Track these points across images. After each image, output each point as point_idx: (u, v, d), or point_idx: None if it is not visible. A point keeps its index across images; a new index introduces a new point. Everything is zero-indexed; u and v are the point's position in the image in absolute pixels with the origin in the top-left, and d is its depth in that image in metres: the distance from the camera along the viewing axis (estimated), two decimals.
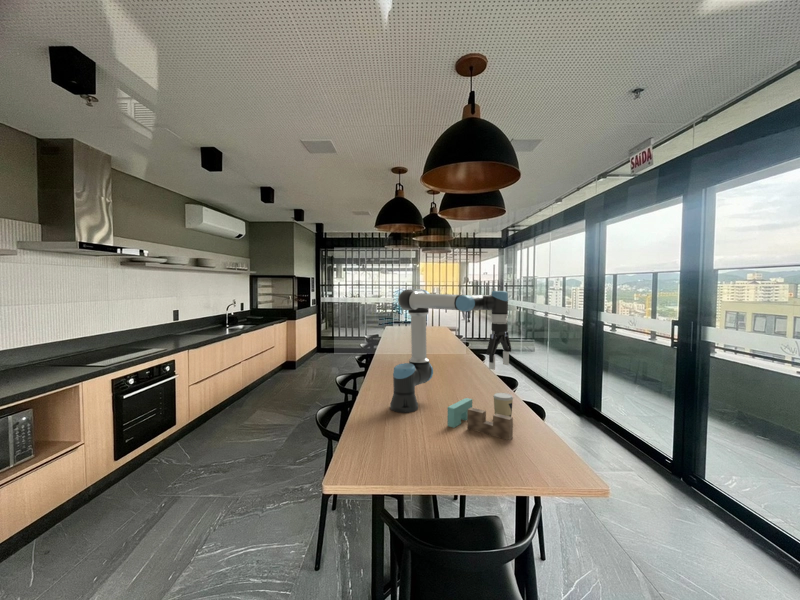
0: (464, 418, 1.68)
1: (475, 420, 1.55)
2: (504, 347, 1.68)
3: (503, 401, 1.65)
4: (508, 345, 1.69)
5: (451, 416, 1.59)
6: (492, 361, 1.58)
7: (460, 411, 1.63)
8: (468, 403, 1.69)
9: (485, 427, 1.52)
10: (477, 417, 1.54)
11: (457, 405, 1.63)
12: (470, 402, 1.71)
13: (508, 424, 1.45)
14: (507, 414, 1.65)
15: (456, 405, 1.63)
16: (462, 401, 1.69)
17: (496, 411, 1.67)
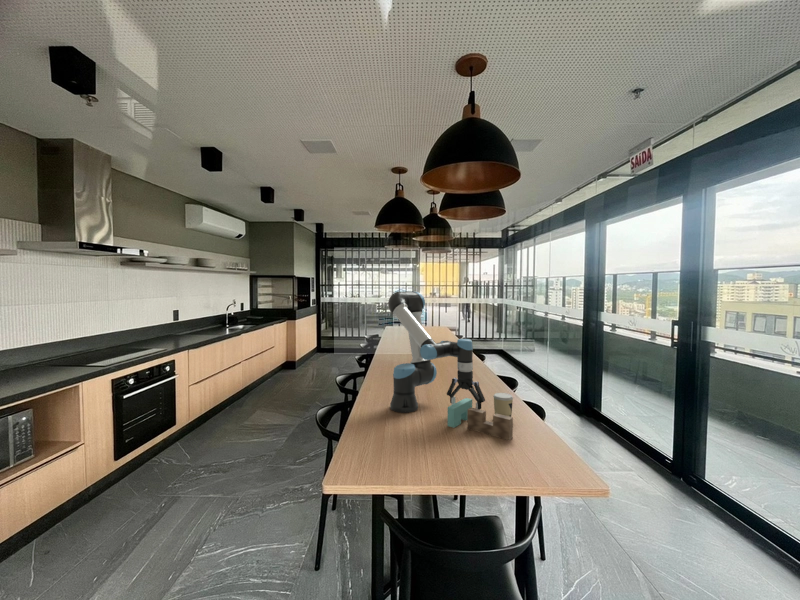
0: (464, 418, 1.68)
1: (475, 420, 1.55)
2: None
3: (503, 401, 1.65)
4: (479, 396, 1.64)
5: (451, 416, 1.59)
6: None
7: (460, 411, 1.63)
8: (468, 403, 1.69)
9: (485, 427, 1.52)
10: (477, 417, 1.54)
11: (457, 405, 1.63)
12: (470, 402, 1.71)
13: (508, 424, 1.45)
14: (507, 414, 1.65)
15: (456, 405, 1.63)
16: (462, 401, 1.69)
17: (496, 411, 1.67)
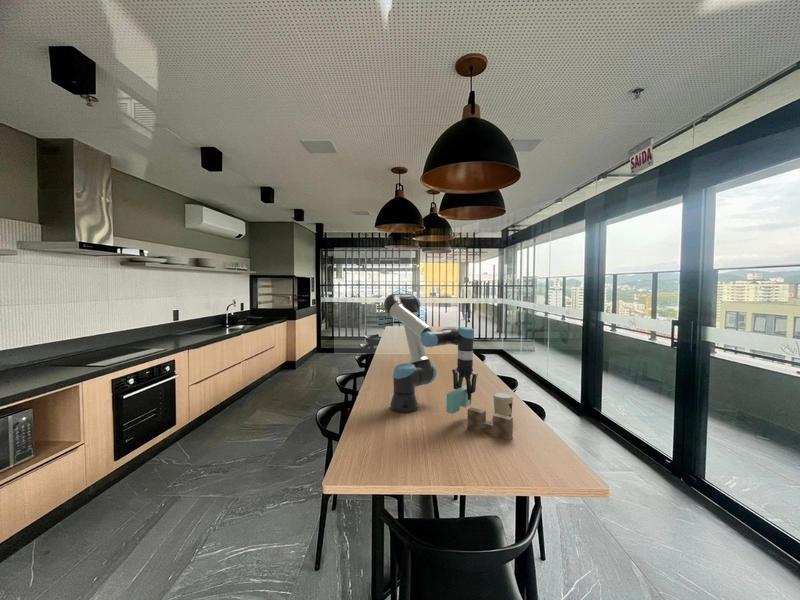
0: (463, 405, 1.68)
1: (475, 420, 1.55)
2: None
3: (503, 401, 1.65)
4: None
5: (450, 402, 1.59)
6: None
7: (460, 398, 1.64)
8: None
9: (485, 427, 1.52)
10: (477, 417, 1.54)
11: (456, 392, 1.63)
12: None
13: (508, 424, 1.45)
14: (507, 414, 1.65)
15: (456, 392, 1.63)
16: (461, 388, 1.69)
17: (496, 411, 1.67)
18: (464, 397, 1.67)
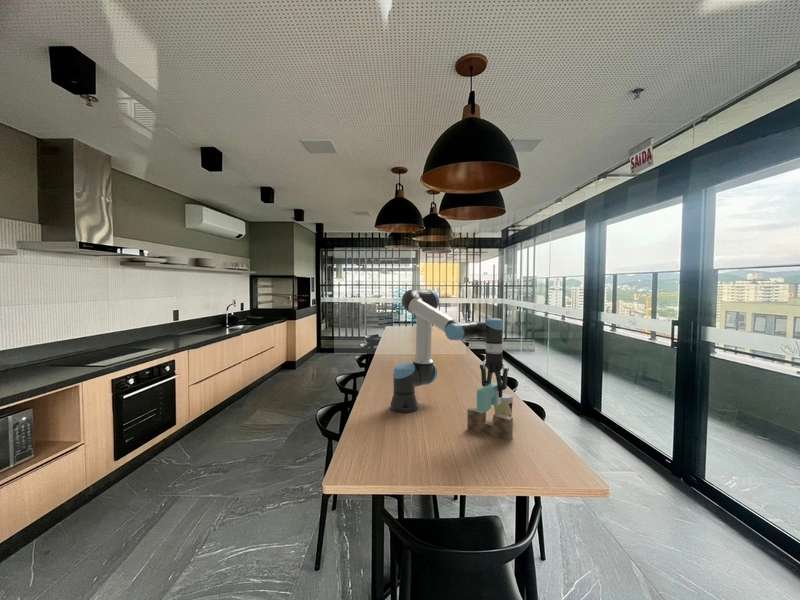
0: (494, 403, 1.53)
1: (475, 420, 1.55)
2: None
3: (503, 401, 1.65)
4: None
5: (481, 400, 1.45)
6: None
7: (491, 395, 1.49)
8: None
9: (485, 427, 1.52)
10: (477, 417, 1.54)
11: (487, 388, 1.48)
12: None
13: (508, 424, 1.45)
14: (507, 414, 1.65)
15: (486, 388, 1.48)
16: (491, 384, 1.54)
17: (496, 411, 1.67)
18: (495, 394, 1.52)
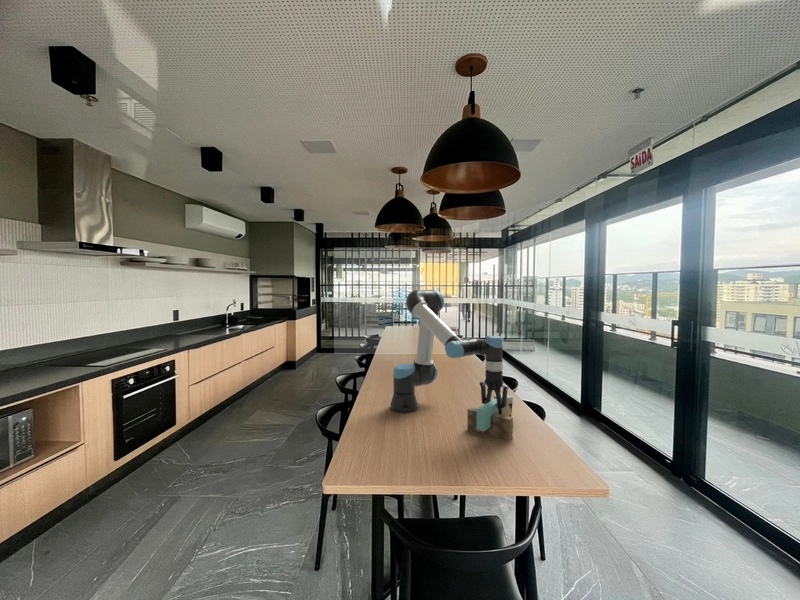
0: None
1: (475, 420, 1.55)
2: None
3: None
4: (502, 401, 1.52)
5: (481, 419, 1.45)
6: None
7: (490, 414, 1.49)
8: None
9: None
10: None
11: (487, 407, 1.49)
12: None
13: (508, 424, 1.45)
14: (507, 414, 1.65)
15: (486, 406, 1.49)
16: (491, 402, 1.54)
17: None
18: (494, 412, 1.53)
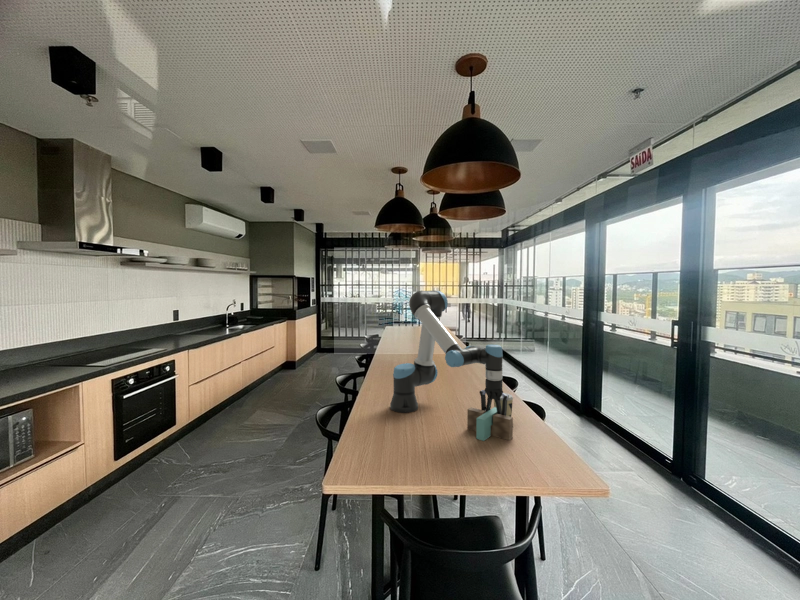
0: None
1: (475, 420, 1.55)
2: None
3: None
4: (502, 410, 1.52)
5: (481, 428, 1.45)
6: None
7: (490, 423, 1.49)
8: None
9: None
10: (477, 417, 1.54)
11: (486, 416, 1.49)
12: None
13: (508, 424, 1.45)
14: (507, 414, 1.65)
15: (486, 416, 1.49)
16: (491, 411, 1.55)
17: None
18: None
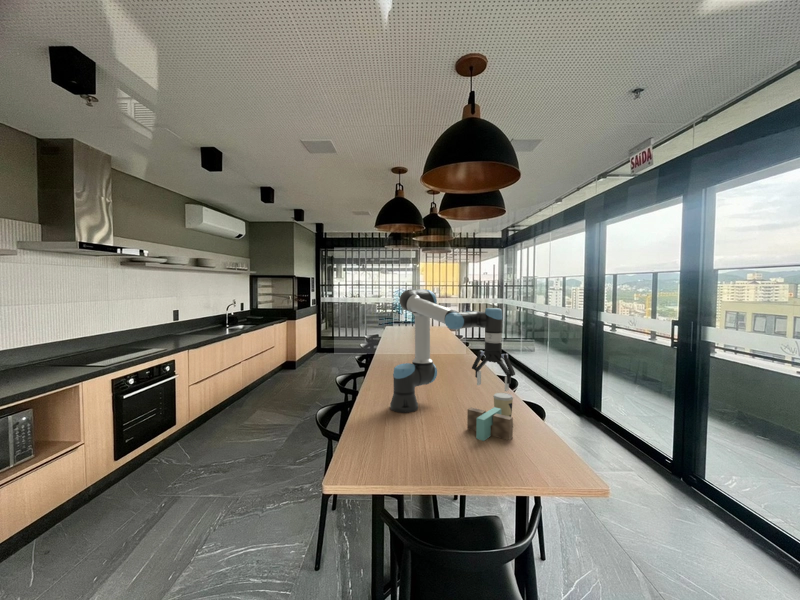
0: None
1: (475, 420, 1.55)
2: None
3: (503, 401, 1.65)
4: (509, 370, 1.51)
5: (481, 428, 1.45)
6: (476, 376, 1.61)
7: (490, 423, 1.49)
8: (498, 413, 1.55)
9: None
10: (477, 417, 1.54)
11: (486, 416, 1.49)
12: (499, 412, 1.57)
13: (508, 424, 1.45)
14: (507, 414, 1.65)
15: (486, 416, 1.49)
16: (491, 411, 1.55)
17: None
18: None
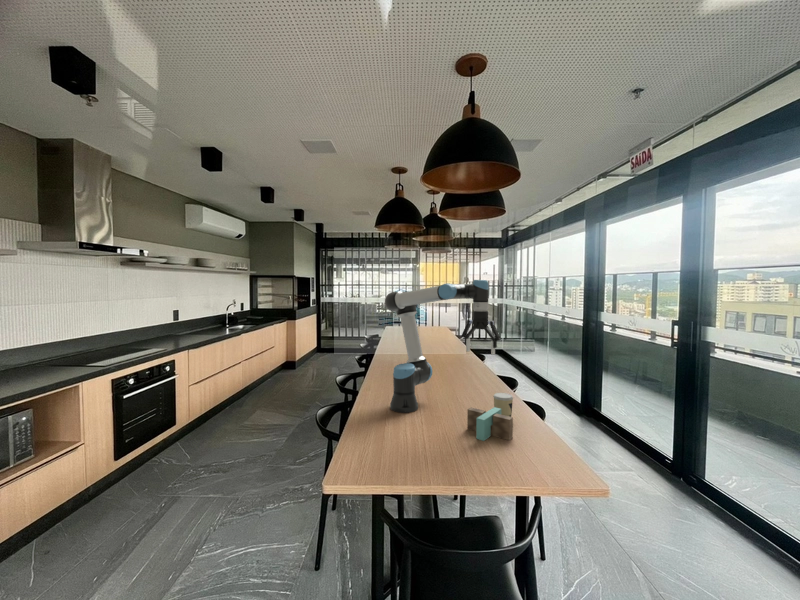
0: None
1: (475, 420, 1.55)
2: None
3: (503, 401, 1.65)
4: (495, 335, 1.65)
5: (481, 428, 1.45)
6: (465, 343, 1.75)
7: (490, 423, 1.49)
8: (498, 413, 1.55)
9: None
10: (477, 417, 1.54)
11: (486, 416, 1.49)
12: (499, 412, 1.57)
13: (508, 424, 1.45)
14: (507, 414, 1.65)
15: (486, 416, 1.49)
16: (491, 411, 1.55)
17: None
18: None
